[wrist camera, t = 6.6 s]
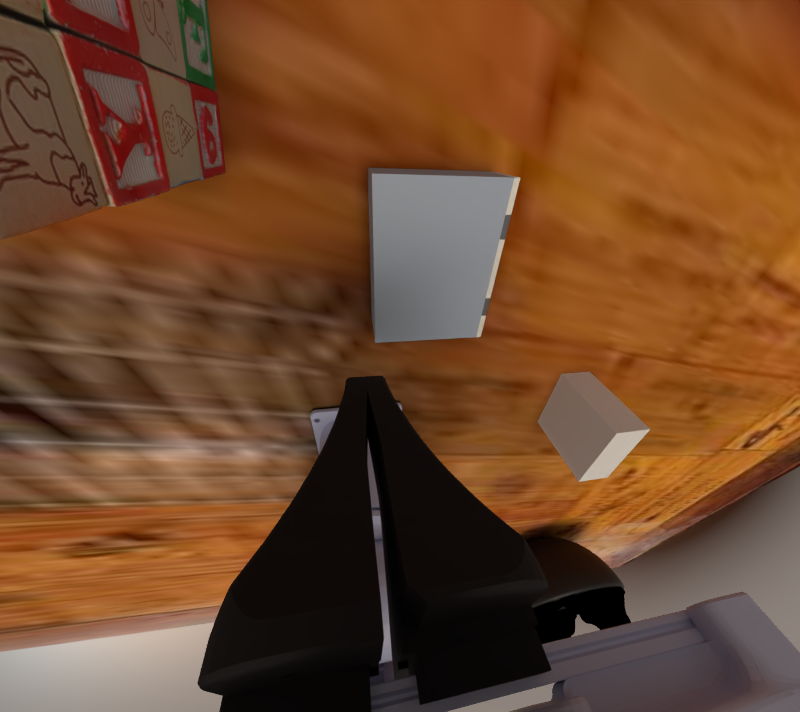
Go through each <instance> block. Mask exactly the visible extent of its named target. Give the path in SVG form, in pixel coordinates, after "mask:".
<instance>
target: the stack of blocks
mask: <svg viewBox="0 0 800 712" xmlns="http://www.w3.org/2000/svg"><path fill="white" fill-rule="evenodd" d="M224 172H225V164H224V154H223V144H222V134H221V125H220V116H219V107H218V96H217V93H216V89H215V80H214V70H213V60H212V50H211V40H210V30H209V20H208V11H207V0H0V239H5V238H9V237H12V236H16V235H19V234H23V233H27V232H30V231H33V230H36V229H39V228H41V227H44V226H47V225H49V224H53V223H57V222H61V221H65V220H68V219H71V218H74V217H77V216H80V215H83V214H86V213H89V212H92V211H95V210H98V209H101V208H102V207H103V206H116V207H117V206H122V205H126V204H129V203H133V202H137V201H140V200H143V199H145V198H149V197H152V196H155V195H159V194H160V193H163V192H167V191H169V190H170V188H174V187H177V186H179V185H182V184H184V183H188V182H192V181H196V180H198V179H199V180H203V179H206V178H210V177H213V176H215V175H220V174H223V173H224Z"/></svg>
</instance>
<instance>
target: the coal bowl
mask: <svg viewBox="0 0 800 712" xmlns="http://www.w3.org/2000/svg"><path fill="white" fill-rule="evenodd" d="M527 544H528V545H529V547H530V549H531V550H532V552H533V554H534V556H535V557H536V559H537V561H538V562H539V564H540V566H541V568H542V571H543V573H544V575H545V577H546V579H547V581H548V589H547V591H546V592H545V594H544V595H543V596H541V597H540V598H539V599H538V600H536V601H535V602H534V603H533V604H531V606H532V608H533V611H534V613H535V616H536V618H537V622H538V625H536V626H535V629H536V631H537V634H538V636H539V639H540V641H541V644H545V643H549V642H553V641H557V640H562V639H566V638H570V637H571V636H572V635H573V634H574V632H575V619H576V617H577V615H578V614H579V615H580V617H581V619H582V620H583V621H584V622H585V623H588V624H589V623H590V624H593V625H595V626H597V627H598V628H599V629H600V630H603V629H608V628H612V627H616V626H620V625H624V624H629V623H631V621H630V619H629V617H628V616H627V614H626V611H625V606H624V604H625V603H624V594H625V591H624V586H623V583H622V582H621V581H620V579H619V578H618V577H617V575H616V574H615V573H614V572H613V571H612V570H611V568H610V567H609V566H608V565H607V564H606V563H605V562H604V561H602V560H601V559H600V558H599V557H598V556H597V555H595V554H594V553H592V552H591V551H590V550H588V549H586V548H585V547H583V546H581V545H579V544H577V543H575V542H572V541H569V540H566V539H562V538H556V537H543V538H538V539H534V540H532V541H530V542H528V543H527Z"/></svg>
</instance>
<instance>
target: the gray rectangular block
mask: <svg viewBox="0 0 800 712" xmlns="http://www.w3.org/2000/svg"><path fill="white" fill-rule="evenodd" d="M519 181H520V178H519V177H515V176H511V175H506V174H502V173H498V172H489V171H457V170H425V169H393V168H368V200H369V236H370V273H371V310H372V324H373V331H374V337H375V343H381V342H398V341H416V340H433V339H451V338H468V337H481V333H482V329H483V325H484V321H485V317H486V313H487V309H488V305H489V301H490V297H491V293H492V289H493V285H494V281H495V277H496V273H497V269H498V265H499V261H500V257H501V253H502V249H503V245H504V241H505V237H506V233H507V229H508V225H509V221H510V217H511V213H512V209H513V205H514V201H515V197H516V193H517V189H518V185H519Z"/></svg>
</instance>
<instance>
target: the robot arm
mask: <svg viewBox="0 0 800 712" xmlns="http://www.w3.org/2000/svg"><path fill="white" fill-rule="evenodd" d="M310 418H311V422H312V426H313V431H314V435H315V439H316V444H317V448H318V452H319V456H318V458H317V460H316V462H315V464H314V466H313V467H312V469H311V471H310V473H309V475H308V476H307V478H306V480H305V481H304V483H303V485H302V486H301V488H300V490H299V491H298V493H297V494H296V496H295V498H294V499H293V501H292V502H291V504H290V505H289V507H288V508H287V510H286V511H285V513H284V514H283V515H282V517H281V518H280V520H279V521H278V523H277V524H276V526H275V527H274V529H273V530H272V531H271V533H270V534H269V536H268V537H267V538H266V540H265V541H264V543H263V544H262V545H261V546H260V548H259V549H258V550H257V552H256V553H255V554H254V556H253V557H252V558H251V559H250V561H249V562H248V563H247V565H246V566H245V567H244V568H243V570H242V571H241V572H240V574H239V575H238V576H237V578H236V579H235V580H234V581H233V583H232V584H231V586H230V588H229V590H228V592H227V594H226V596H225V599H224V601H223V603H222V605H221V608H220V610H219V613H218V615H217V618H216V620H215V623H214V626H213V629H212V632H211V634H210V637H209V641H208V644H207V648H206V652H205V656H204V660H203V664H202V668H201V672H200V676H199V680H198V685H199V687H200V688H201V689H202V690H204V691H207V692H211V693H215V694H219V695H222V696H223V698H222V702H221V707H220V712H448V711H450V710H454V709H457V708H461V707H465V706H469V705H472V704H476V703H480V702H483V701H487V700H491V699H494V698H499V697H502V696H506V695H510V694H513V693H517V692H521V691H525V690H529V689H532V688H536V687H540V686H544V685H548V684H551V683H555V682H556V683H555V684H554V686H553V689H552V690H553V691H552V693H553V695H552V699H551V701H548V702H544V703H540V704H535V705H531V706H528V707H524V708H520V709H517V710H514V711H510V712H800V653H799V651H798V650H797V649H796V648H795V647H794V646H793V644H792V643H791V642H790V641H789V640H788V639H787V638H786V637H785V636H784V634H783V633H782V632H781V631H780V630H779V629H778V628H777V627H776V625H775V624H774V623H773V622H772V621H771V620H770V619H769V618H768V616H767V615H766V614H765V613H764V612H763V611H762V610H761V609H760V607H759V606H758V605H757V604H756V603H755V602H754V601H753V600H752V598H751V597H750V596H749V595H748V594H746V593H744V592H739V593H734V594H730V595H726V596H722V597H717V598H714V599H709V600H706V601H703V602H700V603H697V604H694V605H692V606H689V607H687V608H686V610H683V611H679V612H675V613H670V614H667V615H662V616H658V617H654V618H649V619H645V620H641V621H637V622H633V623H629V624H624V625H620V626H616V627H612V628H608V629H603V630H599V631H595V632H591V633H587V634H583V635H578V636H574V637H570V638H566V639H562V640H557V641H553V642H549V643H545V644H541V641H540V639H539V636H538V634H537V631H536V629H535V626H536V625H538V622H537V618H536V616H535V613H534V611H533V608H532V606H531V604H533V603H534V602H535V601H536V600H538V599H539V598H540V597H541V596H543V595H544V594H545V592H546V591H547V589H548V581H547V579H546V577H545V575H544V573H543V571H542V568H541V566H540V564H539V562H538V561H537V559H536V557H535V556H534V554H533V552H532V550H531V549H530V547H529V545H528V544H527V542H526V540H525V539H524V538H523V537H522V536H521V535H520V534H519V533H517V532H516V531H515V530H514V529H512V528H511V527H510V526H509V525H507V524H506V523H505V522H504V521H502V520H501V519H500V518H499V517H498V516H497V515H495V514H494V513H493V512H492V511H491V510H489V509H488V508H487V507H486V506H485V505H484V504H483V503H482V502H480V501H479V500H478V499H477V498H476V497H475V496H474V495H473V494H472V493H471V492H470V491H469V490H468V489H467V488H466V487H465V486H464V485H463V484H461V483H460V482H459V481H458V480H457V479H456V478H455V477H454V476H453V475H452V474H451V473H450V472H449V471H448V469H447V468H446V467H445V466H444V465H443V464H442V463H441V462H440V461H439V460H438V458H437V457H436V456H435V455H434V454H433V453H432V451H431V450H430V449H429V448H428V447H427V445H426V444H425V443H424V442H423V440H422V439H421V438H420V436H419V435H418V434H417V432H416V431H415V430H414V428H413V427H412V425H411V424H410V423H409V421H408V420H407V418H406V417H405V415H404V413H403V412H402V405H401V404H400V403H398V402H396V400H395V399H394V397H393V395H392V393H391V391H390V389H389V387H388V385H387V383H386V380H385V378H384V377H383V376H368V377H352V378H348V379H347V380H346V385H345V390H344V395H343V398H342V401H341V405H340V408H331V409H320V410H313V411H312V412H311V415H310Z"/></svg>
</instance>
